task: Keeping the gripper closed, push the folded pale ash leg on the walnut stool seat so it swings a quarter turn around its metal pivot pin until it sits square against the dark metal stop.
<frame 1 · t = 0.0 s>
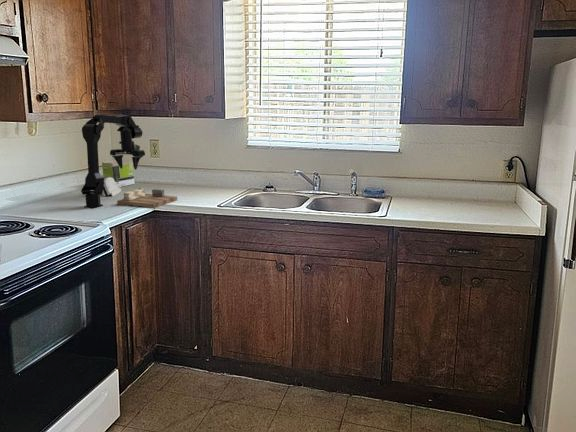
hand: (128, 168, 287), 15 cm above the worktop, fingers open, 9 cm apart
leg: (134, 194, 273), point 4 cm above the worktop, hinge at 0.0°
tea box: (119, 185, 322), on the worktop
seat board: (148, 202, 274), on the worktop
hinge: (110, 194, 297), on the worktop
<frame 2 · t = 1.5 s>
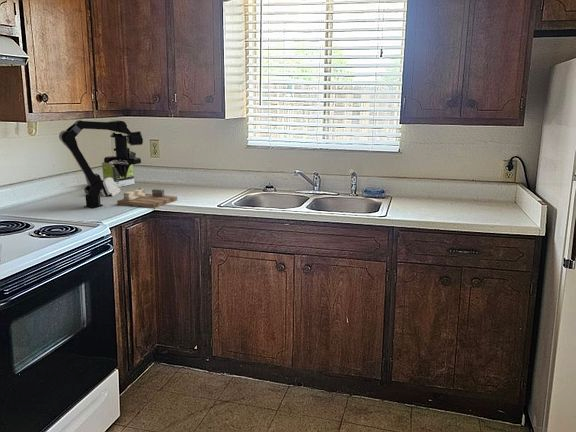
hand: (123, 177, 270), 13 cm above the worktop, fingers closed
nothing on the worktop moved.
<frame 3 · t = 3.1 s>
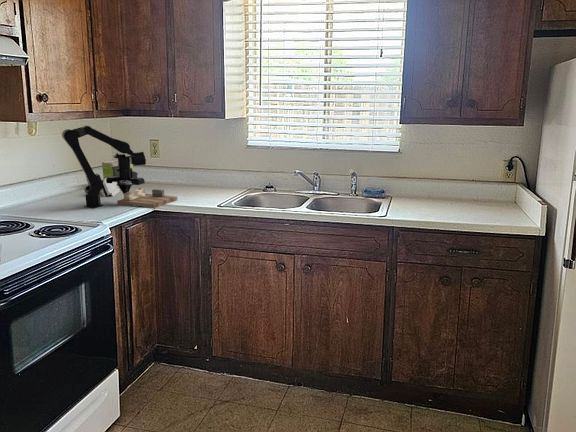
hand: (126, 197, 272), 3 cm above the worktop, fingers closed
leg: (134, 194, 273), point 4 cm above the worktop, hinge at 0.5°, touching gripper
everything else where it was.
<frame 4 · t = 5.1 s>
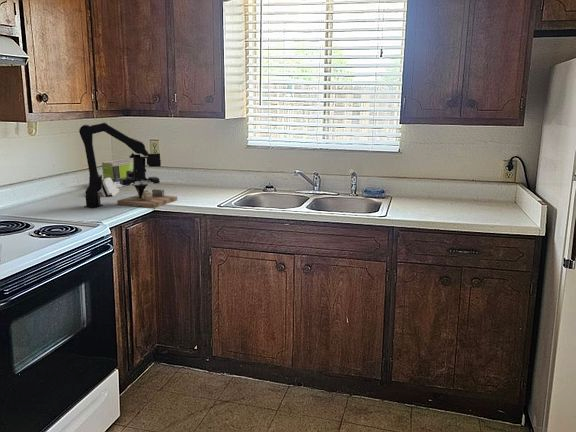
hand: (140, 198, 270), 3 cm above the worktop, fingers closed
leg: (144, 193, 273), point 4 cm above the worktop, hinge at 54.1°, touching gripper
everything else where it was.
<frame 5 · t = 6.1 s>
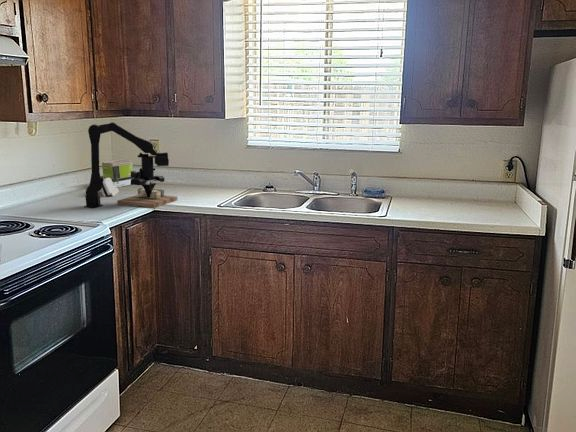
hand: (148, 197, 272), 3 cm above the worktop, fingers closed
leg: (148, 193, 275), point 4 cm above the worktop, hinge at 81.2°, touching gripper
everything else where it was.
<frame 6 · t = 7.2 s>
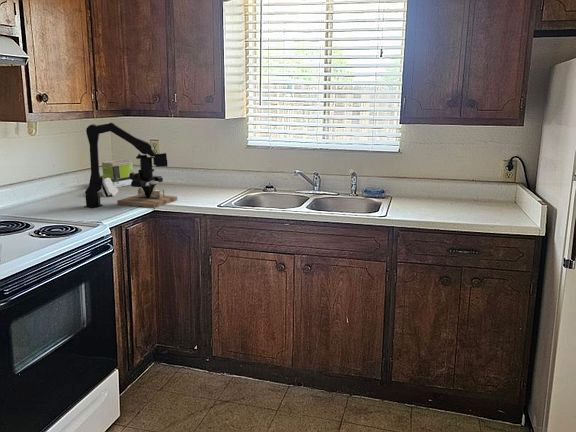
hand: (148, 198, 271), 3 cm above the worktop, fingers closed
leg: (150, 192, 276), point 4 cm above the worktop, hinge at 92.0°
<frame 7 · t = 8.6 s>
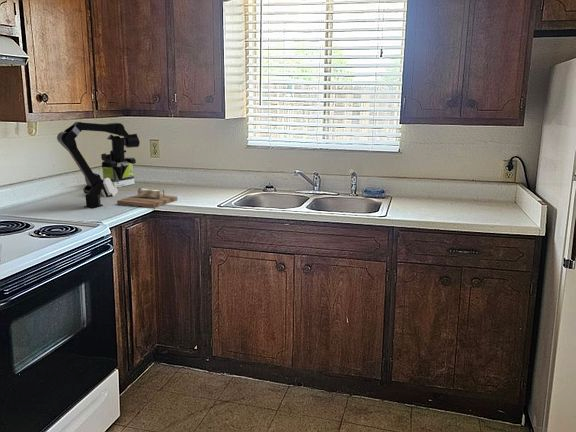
hand: (120, 179, 271), 12 cm above the worktop, fingers closed
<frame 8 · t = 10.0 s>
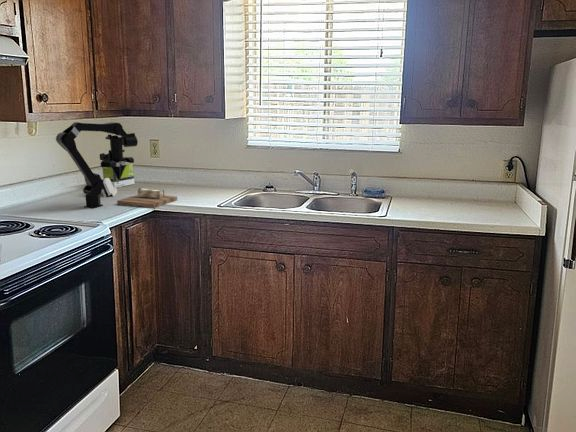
hand: (119, 179, 272), 12 cm above the worktop, fingers closed
at the end: leg at +92° (first picture: +0°) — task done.
